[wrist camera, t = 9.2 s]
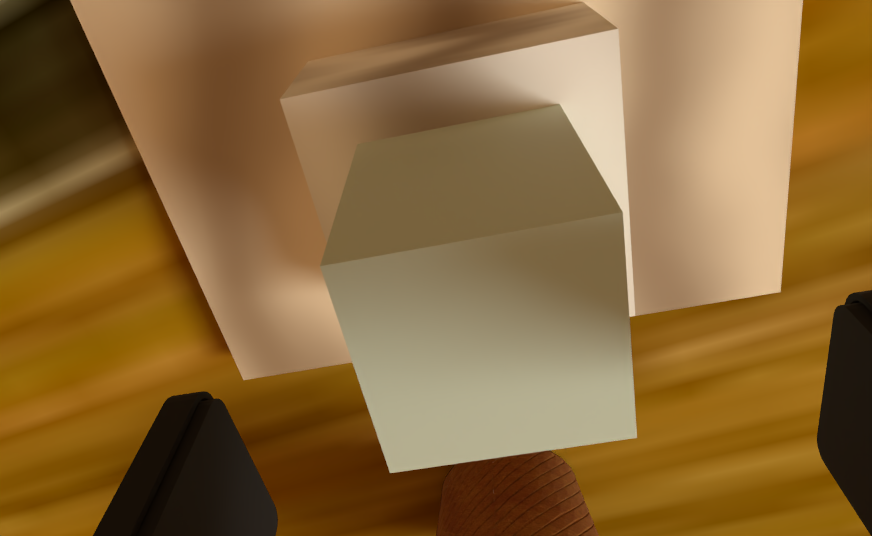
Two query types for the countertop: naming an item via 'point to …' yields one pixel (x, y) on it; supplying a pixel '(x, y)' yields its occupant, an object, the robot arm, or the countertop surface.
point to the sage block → (484, 291)
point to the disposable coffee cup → (514, 498)
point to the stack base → (268, 205)
